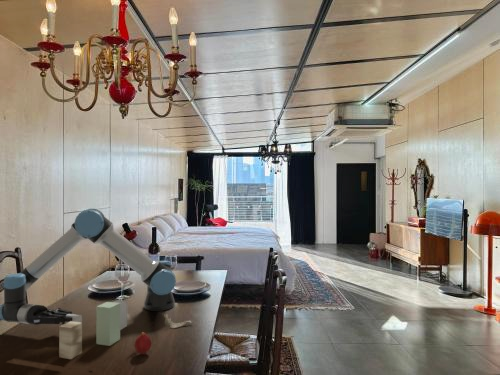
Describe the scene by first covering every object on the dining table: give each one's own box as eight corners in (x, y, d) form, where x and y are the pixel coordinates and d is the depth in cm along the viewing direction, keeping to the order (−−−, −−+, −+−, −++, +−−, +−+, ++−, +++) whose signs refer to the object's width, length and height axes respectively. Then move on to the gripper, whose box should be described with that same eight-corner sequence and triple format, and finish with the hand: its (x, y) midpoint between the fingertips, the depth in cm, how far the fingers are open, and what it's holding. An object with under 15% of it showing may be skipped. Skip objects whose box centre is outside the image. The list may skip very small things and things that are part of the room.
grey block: (116, 328, 152) (117, 299, 152) (126, 329, 150) (127, 300, 150) (109, 332, 147) (109, 303, 147) (119, 333, 145) (119, 304, 146)
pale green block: (96, 343, 132) (96, 306, 133) (107, 337, 138) (107, 301, 138) (109, 345, 131) (109, 307, 131) (120, 339, 136) (120, 303, 137)
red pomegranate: (136, 351, 129) (136, 329, 129) (152, 350, 130) (152, 328, 130) (132, 358, 123) (132, 335, 124) (149, 357, 124) (149, 334, 124)
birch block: (70, 354, 126) (70, 321, 127) (81, 356, 125) (81, 322, 125) (59, 361, 122) (59, 326, 122) (71, 363, 120) (71, 327, 120)
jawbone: (177, 333, 148) (177, 328, 148) (148, 323, 161) (148, 318, 161) (193, 325, 155) (193, 320, 155) (164, 316, 168) (164, 311, 168)
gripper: (46, 317, 151) (92, 322, 144) (18, 329, 138) (67, 335, 132) (46, 300, 151) (92, 304, 144) (18, 310, 138) (67, 315, 132)
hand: (80, 319), depth 138 cm, fingers closed
